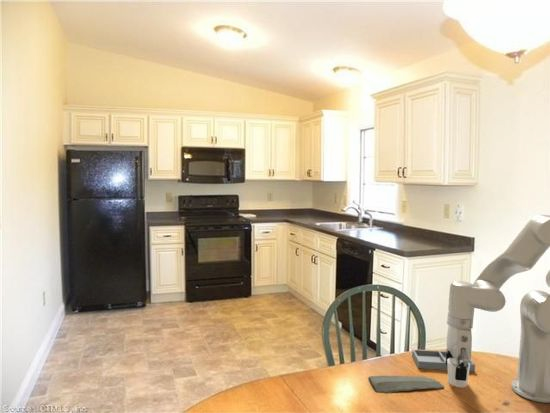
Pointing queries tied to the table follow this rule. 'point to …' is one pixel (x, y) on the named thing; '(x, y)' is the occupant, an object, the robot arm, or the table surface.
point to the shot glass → (455, 372)
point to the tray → (433, 359)
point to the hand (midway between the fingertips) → (455, 372)
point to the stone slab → (402, 383)
